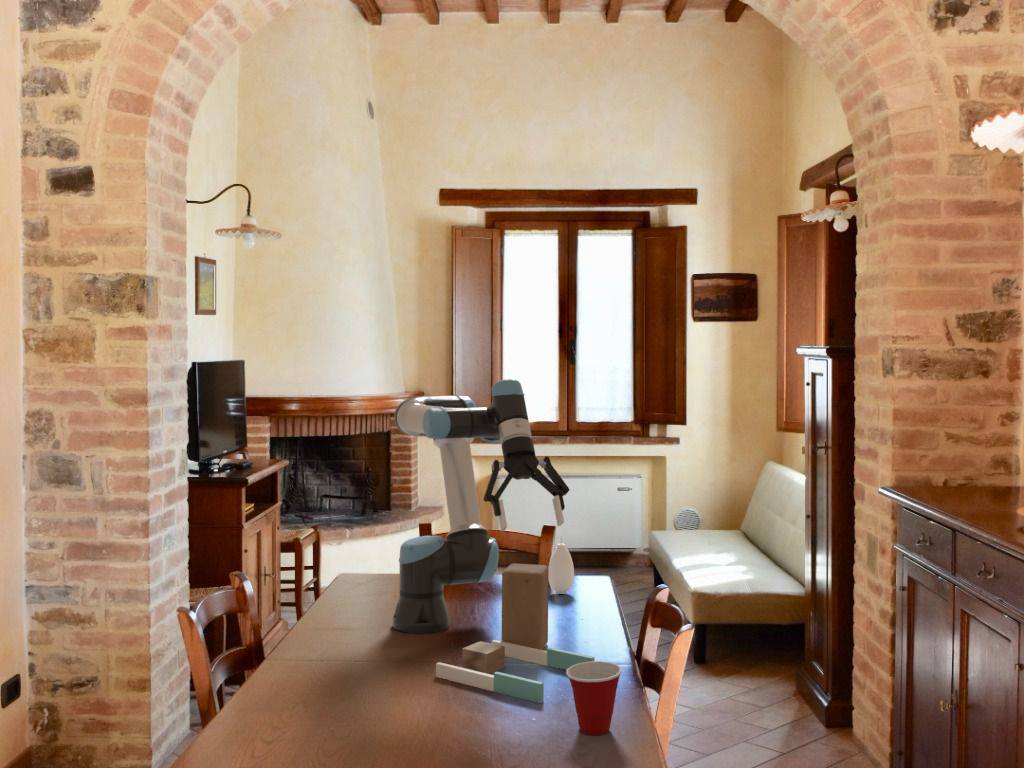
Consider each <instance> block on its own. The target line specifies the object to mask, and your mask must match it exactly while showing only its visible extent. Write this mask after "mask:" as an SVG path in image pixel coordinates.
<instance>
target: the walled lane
mask: <svg viewBox="0 0 1024 768" xmlns="http://www.w3.org/2000/svg"><path fill="white" fill-rule="evenodd" d="M491 644H496V645H500V646H505V658H506V657H507V658H512V659H515V660H519V661H520V660H521V661H525V662H528V663H532V662H533V663H532V664H538V665H541V666H546V667H550V666H551V668H554V667H555V669H559V668H560V670H563V669H565V670H564V671H566V670H567V669H568V668H569V667H571V666H573V665H576V664H579V663H584V662H593V661H596V660H595V656H592V655H586V654H581V653H579V652H578V653H577V652H572V651H568V650H563V649H558V648H554V647H547V649H546V650H544V649H543V650H539V649H535V648H530V647H526V646H521V645H516V644H512V643H507V642H502V641H501V640H497V639H493V640H491ZM435 677H436V678H439V679H443V680H446V679H447V680H446V681H451V682H455V683H459V684H462V685H467V686H471V687H474V688H479V689H482V690H485V691H486V690H487V691H491V692H494V693H498V694H501V695H502V694H503V695H507V696H510V697H514V698H518V699H522V700H526V701H530V702H534V703H537V704H541V703H544V699H545V698H544V695H545V694H544V692H545V690H544V687H545V686H544V685H545V683H544V682H543V681H542V682H541V681H538V680H534V679H529V678H525V677H521V676H517V675H514V674H508V673H506V672H505V673H504V672H501V671H495V672H493V674H486V673H482V672H478V671H474V670H470V669H465V668H462V667H461V666H456V665H452V664H448V663H444V662H439V661H438V662H436V663H435Z"/></svg>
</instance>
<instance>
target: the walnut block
mask: <svg viewBox="0 0 1024 768" xmlns="http://www.w3.org/2000/svg"><path fill="white" fill-rule="evenodd" d="M461 651H462V652H461V654H462V657H461V659H462V660H461V661H462V662H461V665H462V667H461V668H465V669H470V670H474V671H478V672H482V673H486V674H490V673H491V674H493V673H495V672H497V671H499V670H502V669H504V668H505V666H506V664H505V661H506V660H505V658H506V656H505V646H500V645H496V644H492V642H491V643H490V642H485V641H477V642H475V643H472V644H470V645H468V646H465V647H463V648H462V650H461ZM503 667H504V668H503ZM501 668H502V669H501ZM496 670H497V671H496ZM492 672H493V673H492ZM491 674H490V675H491Z"/></svg>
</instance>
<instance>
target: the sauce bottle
mask: <svg viewBox="0 0 1024 768" xmlns="http://www.w3.org/2000/svg"><path fill="white" fill-rule="evenodd" d="M571 555H572V554H571V553H570V552H569V549H568V548H567V545H566V544H565V543H563V536H562V535H561V536H560V543H557V544H556V548H555V549H554V550H553V552H552V555H551V557H550V560H549V563H548V569H549V574H548V584H549V586H550V588H551V590H552V591H553V592H554V593H555V594H557V595H558V594H564V595H565V594H568V592H569V591H570V590H571V589H572V587H573V584H574V580H575V569H574V568H575V567H574V563H573V558H572V556H571Z"/></svg>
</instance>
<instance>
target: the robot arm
mask: <svg viewBox="0 0 1024 768" xmlns="http://www.w3.org/2000/svg"><path fill="white" fill-rule="evenodd" d="M491 397H492V402H491V403H490V405H489V406H488V407H477V406H476V404H475V402H474V401H473V399H471V398H470V397H469V396H467V395H457V394H453V395H418V396H412V397H409V398H407V399H405V400H404V401H402V402H400V404H398V405H397V407H396V409H395V410H394V411H395V412H394V415H393V420H394V423H395V426H396V427H397V429H398V430H399V431H400V432H402V433H403V434H406V435H409V436H414V437H426V438H428V439H429V440H431V439H433V445H434V446H436V447H437V448H439V451H440V459H441V466H442V467H441V468H442V472H443V483H444V488H445V499H446V505H447V512H448V519H449V520H448V521H449V526H450V527H449V528H450V530H449V531H448V532H447V534H446V535H445V540H444V538H443V536H441V535H422V536H421V535H420V536H416V537H413V538H410V539H408V540H405V541H404V542H403V543H402V544H400V545H401V546H400V547H399V558H398V563H399V596H398V597H399V598H398V600H397V601H398V602H397V603H396V606H395V607H396V608H395V610H394V614H393V616H392V628H393V629H394V630H396V631H400V632H401V633H402V632H403V633H409V634H431V633H437V632H441V630H442V631H444V630H447V629H448V628H449V627H450V625H451V620H450V619H451V618H450V614H449V613H448V609H447V605H446V602H445V601H446V600H445V599H444V586H447V585H449V586H450V585H452V586H453V585H459V584H460V585H461V584H474V583H475V584H478V583H482V582H488V581H491V580H492V579H493V578H494V577H495V575H496V574H497V573H496V572H497V569H498V566H499V565H498V564H499V556H500V555H499V554H500V553H499V552H500V551H499V544H498V541H497V540H496V538H494V537H492V536H491V537H489V536H490V535H489V531H488V529H487V528H486V527H485V526H483V525H482V520H481V519H482V518H481V513H480V506H479V499H478V492H477V486H476V479H475V471H474V464H473V459H472V458H473V456H472V451H471V450H472V449H471V444H472V443H473V441H474V440H475V439H481V440H482V442H485V443H488V444H497V443H499V442H500V444H501V451H502V456H503V461H499V459H494V461H493V462H492V464H491V475H490V477H489V481H488V483H487V485H486V490H485V493H484V496H483V501H484V502H485V503H486V502H487V503H488V502H489V503H490V504H491V505H492V509H493V514H494V516H495V517H498V519H499V527H500V532H505V531H506V530H507V528H508V523H507V517H506V511H505V506H504V501H503V499H500V497H501V496H502V495H503V493H504V492H505V490H506V489H507V487H508V485H509V484H510V481H512V479H515V480H516V481H517V480H518V481H519V480H522V479H524V480H529V479H530V478H531V479H532V480H533V481H535V482H537V483H538V484H539V485H540V486H541V487H542V488H544V489H545V490H546V491H547V492H548V493H549V494H551V495H552V496H553V499H552V504H553V510H554V515H555V520H556V525H557V527H561V526H562V525H563V524H564V523H565V520H564V514H563V511H564V510H565V507H566V506H565V501H564V496H566V495H567V494H569V492H570V488H569V486H568V485H567V484H566V482H565V481H564V479H563V478H562V476H561V475H560V474H559V473H558V471H557V470H556V469H555V467H554V466H553V464H552V463H551V462H552V461H551V459H550V457H549V456H547V455H546V456H544V458H539V459H538V458H537V457H536V450H535V446H534V440H533V439H532V437H533V436H532V431H531V426H530V421H529V417H528V411H527V406H526V399H525V393H524V391H523V388H522V384H521V382H520V381H519V380H517V379H513V378H507V379H501V380H499V381H498V380H497V381H496V382H495V383H494V384H493V385H492V386H491ZM539 466H540V468H541V469H543V471H544V472H545V474H546V475H547V476H548V477H547V476H545V474H543V472H542V470H540V469H539V468H538V467H539ZM502 469H504V470H505V471H506V472H507V473H508V474H507V475H506V477H505V478H504V480H503V482H502V484H501V485H500V487H499V488H498V489H497V491H496V492H495V494H492V493H493V491H494V487H495V485H496V481H497V479H498V475H499V472H501V470H502Z"/></svg>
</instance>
